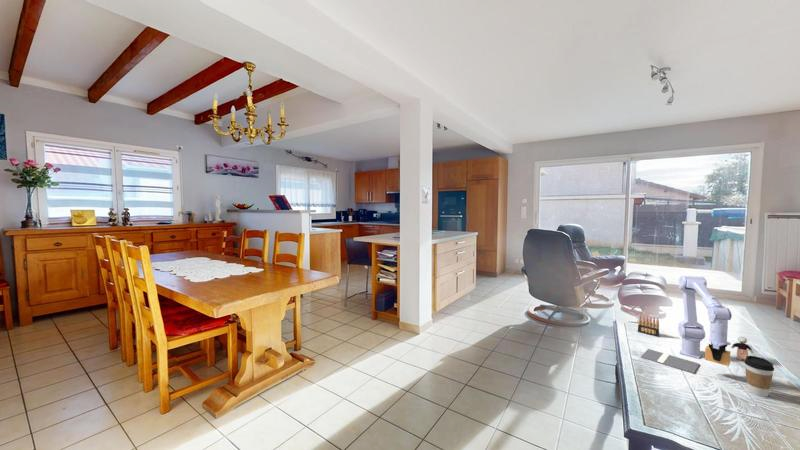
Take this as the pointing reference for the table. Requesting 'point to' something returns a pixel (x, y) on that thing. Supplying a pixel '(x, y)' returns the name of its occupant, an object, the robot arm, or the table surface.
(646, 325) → the ammunition clip
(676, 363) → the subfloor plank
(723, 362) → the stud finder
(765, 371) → the coffee cup
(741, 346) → the grandmother figurine
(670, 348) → the table surface
